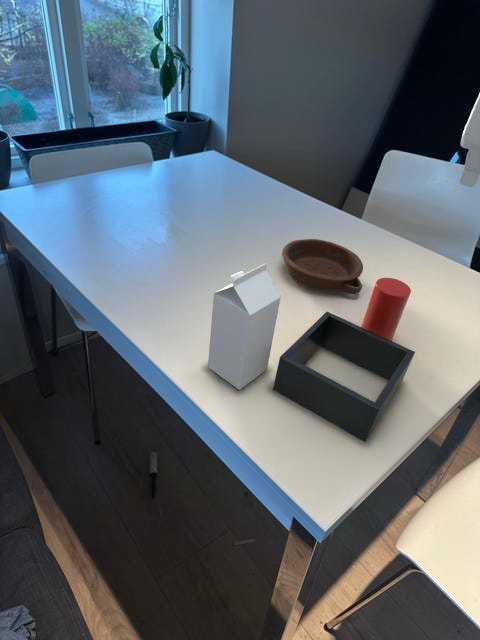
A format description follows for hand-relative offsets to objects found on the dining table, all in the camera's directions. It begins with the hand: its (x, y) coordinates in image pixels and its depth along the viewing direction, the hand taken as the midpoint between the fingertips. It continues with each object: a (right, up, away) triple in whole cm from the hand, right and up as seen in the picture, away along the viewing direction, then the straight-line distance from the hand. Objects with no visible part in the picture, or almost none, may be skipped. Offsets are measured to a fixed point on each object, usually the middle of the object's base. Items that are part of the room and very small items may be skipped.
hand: (475, 175), depth 56 cm
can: (-4, -22, +29) cm, 36 cm away
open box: (-13, -29, +18) cm, 36 cm away
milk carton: (-30, -26, +19) cm, 44 cm away
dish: (-12, -8, +46) cm, 48 cm away
